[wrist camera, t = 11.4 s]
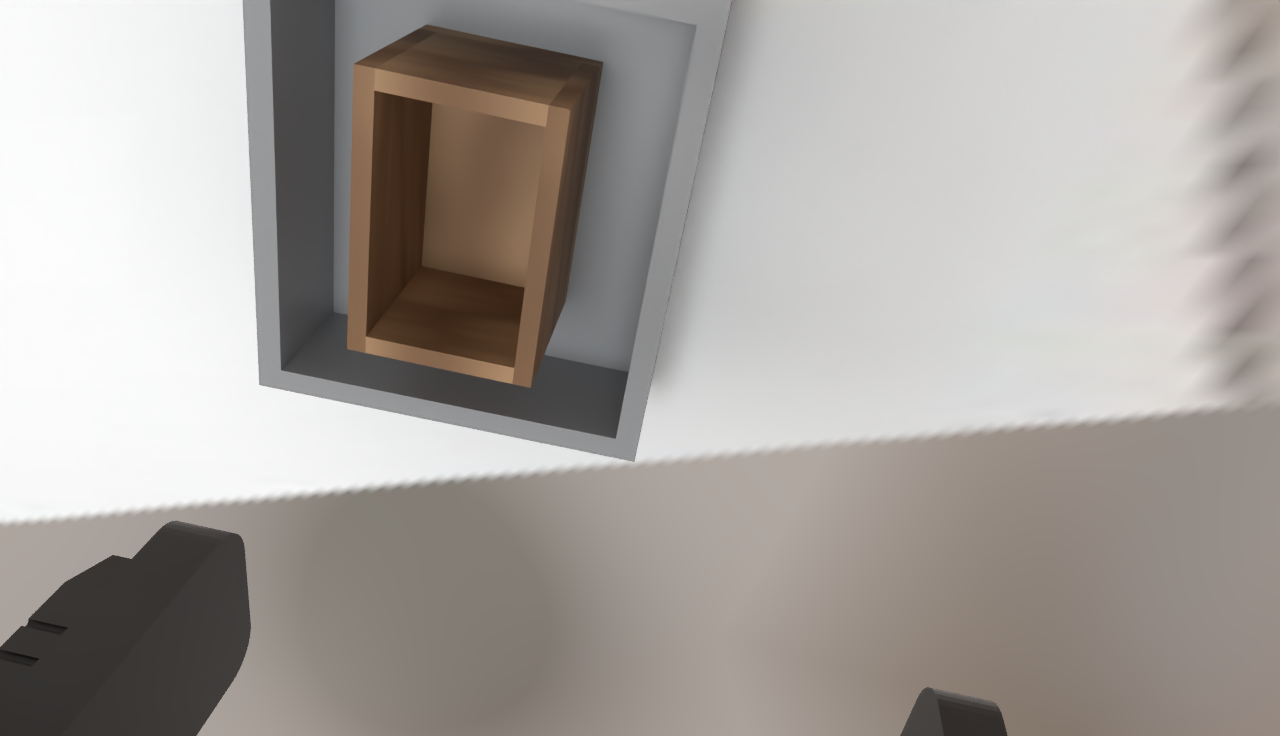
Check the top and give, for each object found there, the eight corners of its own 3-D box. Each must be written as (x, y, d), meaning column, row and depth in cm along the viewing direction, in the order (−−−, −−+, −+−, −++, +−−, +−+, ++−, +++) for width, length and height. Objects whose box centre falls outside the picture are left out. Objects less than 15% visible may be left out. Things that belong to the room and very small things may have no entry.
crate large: (734, -24, 29) (732, 0, 25) (648, 383, 37) (634, 461, 32) (320, -108, 29) (238, -101, 25) (321, 316, 37) (259, 384, 32)
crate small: (603, 61, 30) (570, 109, 25) (565, 301, 35) (530, 388, 29) (426, 24, 30) (353, 63, 25) (411, 268, 35) (346, 348, 29)
